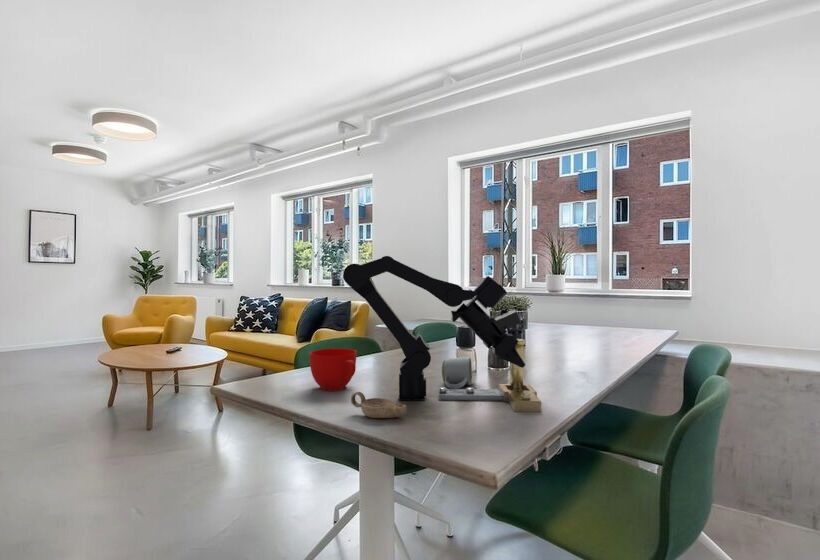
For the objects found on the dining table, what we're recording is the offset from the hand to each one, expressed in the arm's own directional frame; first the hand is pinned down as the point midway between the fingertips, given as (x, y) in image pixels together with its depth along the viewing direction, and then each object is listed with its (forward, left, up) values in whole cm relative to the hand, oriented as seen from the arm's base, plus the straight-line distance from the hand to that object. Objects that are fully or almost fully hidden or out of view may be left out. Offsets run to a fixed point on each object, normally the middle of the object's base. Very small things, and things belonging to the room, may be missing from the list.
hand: (522, 364), depth 111 cm
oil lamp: (-35, -16, -9) cm, 40 cm away
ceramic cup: (-49, +7, -8) cm, 51 cm away
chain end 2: (-1, -4, -8) cm, 9 cm away
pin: (-1, 0, -7) cm, 7 cm away
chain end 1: (-9, 0, -8) cm, 12 cm away
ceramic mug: (-16, +13, -9) cm, 22 cm away
